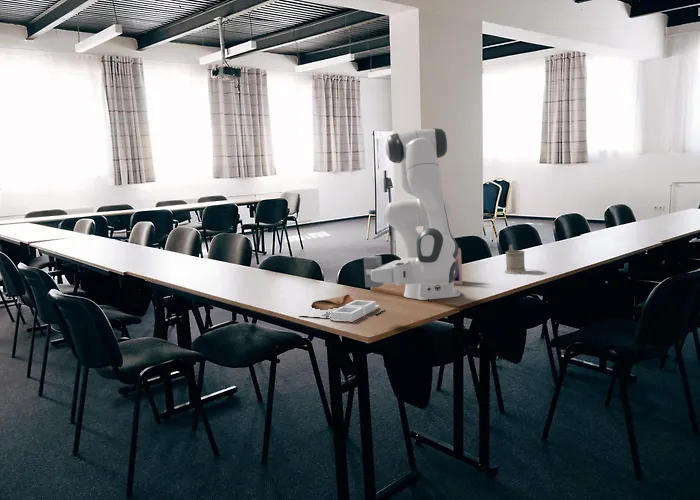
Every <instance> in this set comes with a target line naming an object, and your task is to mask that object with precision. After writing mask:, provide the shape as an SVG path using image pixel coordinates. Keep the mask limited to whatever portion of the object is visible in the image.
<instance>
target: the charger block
mask: <svg viewBox="0 0 700 500" xmlns="http://www.w3.org/2000/svg"><path fill="white" fill-rule="evenodd" d="M362 259H363V271H364V272H363V273H364V284H365V285H364V286H365V288H375V289H376V288H380V287H382V286H384V283H380V282H374V281H372V280H371V275H367V274H366V270H367V269H376V268H378V267H380V266H382V265H383V264H382V263H383V262H382V256H381V255H368V256H365V257H363V258H362Z"/></svg>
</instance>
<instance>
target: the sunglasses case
mask: <svg viewBox="0 0 700 500" xmlns="http://www.w3.org/2000/svg"><path fill="white" fill-rule="evenodd" d="M353 301H355V299H354V298H352V297H351V296H350V294H345V295H342V296H337V297H332V298H327V299H319V300H316V301H313V302H312V303H311V307H312V308H315V309H320V310H328V309H333V308H339V307H342V306H345V305H346V304H348V303H351V302H353ZM311 307H310V308H311Z"/></svg>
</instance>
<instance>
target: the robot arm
mask: <svg viewBox="0 0 700 500" xmlns="http://www.w3.org/2000/svg"><path fill="white" fill-rule="evenodd" d="M384 147H385V148H384V149H385V152H386V153H385V154H386V155H387V156H386V157H387V158H388V159H389V161H390V162H392V163H395V164H400V165H399V167H400V181H401V183H400V184H401V187H402V189H403V190H404V192H406V194H408V195H411V196H413V197H415V198H409V199H398V200H395V201H390V202H389V203H388V204H387V205H386V207H385V210H384V219H385V221H386V223H387V224H388V225H389V226H390V227H392V228H393V229H395V231H397V232H398V234H399V235H400V237H401V239H402V241H403V245H404V255H405V257H402V258H400V259H397V260H396V259H395V260H393V261H391V262H388V263H385V264H382V266H380V267H378V268H376V269H367V270H366V274H367V275H371V280H372V281H374V282H380V283H383V284H393V285H394V286H402V285H404V287H405V288H404V293H403V296H404V298H408V299H413V300H414V299H415V300H419V301H428V299H429V300H436V299H437V300H439V299H447V298H455V297H456V298H457V297H459V296H460V295H461V291H460V289H459V288H457V287H455V284H454V283H453V281H454V280H455V278H456V276H457V272H458V263H457V261H456V260H455V258H456V256H457V254H458V248H459V245H458V243H457V241H456V239H455V238H454V236H453V235H452V232H451V230H450V224H449V219H450V216H451V207H450V204H449V203H448V201H447V200H446V199H444V195H443V187H442V178H441V170H440V163H439V158H442V157H444V156H445V155H446V153H447V152H448V147H449V139H448V136H447V135H446V131H444V130H443V128H423V129H421V128H420V129H414V130H407V131H404V132H400V133H397V132H396V133H393V134H389V135H388V137H387V138H386V142H385V146H384ZM428 226H429V228H426V229H423V231H421V233H420V232H418V230H417V228H419V227H428Z"/></svg>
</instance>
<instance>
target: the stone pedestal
mask: <svg viewBox="0 0 700 500" xmlns="http://www.w3.org/2000/svg"><path fill="white" fill-rule="evenodd" d="M505 261H506V264H505V265H506V268H505V271H504V273H505V274H508V275H509V274H510V275H521V274H522V275H523V274H527V270H526V268H525V250H519V249H518V250H514V248H513V244H509V247H508V250H507V251H505Z"/></svg>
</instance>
